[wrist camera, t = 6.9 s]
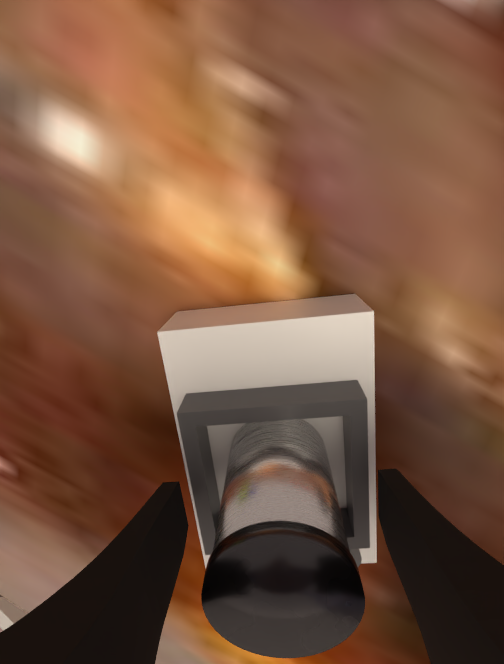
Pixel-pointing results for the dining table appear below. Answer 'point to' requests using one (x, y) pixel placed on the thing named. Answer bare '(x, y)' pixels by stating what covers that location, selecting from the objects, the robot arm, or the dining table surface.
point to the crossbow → (9, 613)
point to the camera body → (277, 396)
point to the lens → (281, 547)
